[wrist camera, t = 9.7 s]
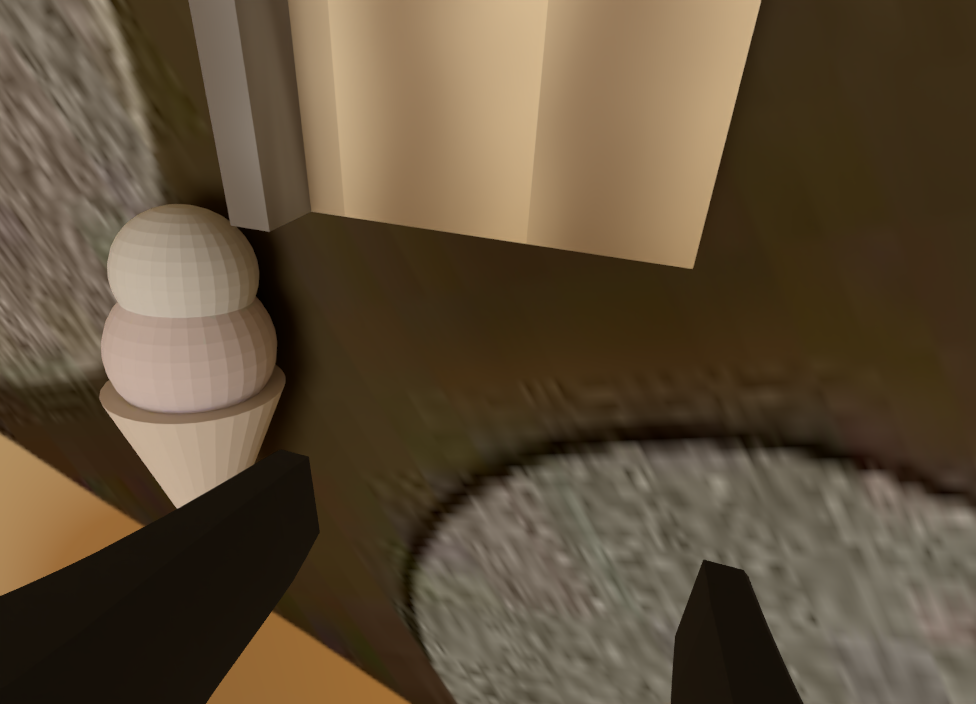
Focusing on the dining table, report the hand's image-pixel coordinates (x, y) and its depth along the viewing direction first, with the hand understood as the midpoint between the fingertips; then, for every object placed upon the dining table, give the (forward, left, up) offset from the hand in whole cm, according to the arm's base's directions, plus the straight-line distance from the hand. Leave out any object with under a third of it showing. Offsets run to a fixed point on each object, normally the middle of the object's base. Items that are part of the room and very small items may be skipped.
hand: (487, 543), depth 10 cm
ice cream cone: (+13, +5, -10) cm, 17 cm away
